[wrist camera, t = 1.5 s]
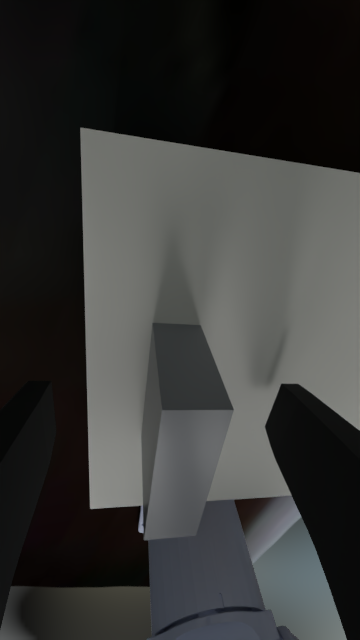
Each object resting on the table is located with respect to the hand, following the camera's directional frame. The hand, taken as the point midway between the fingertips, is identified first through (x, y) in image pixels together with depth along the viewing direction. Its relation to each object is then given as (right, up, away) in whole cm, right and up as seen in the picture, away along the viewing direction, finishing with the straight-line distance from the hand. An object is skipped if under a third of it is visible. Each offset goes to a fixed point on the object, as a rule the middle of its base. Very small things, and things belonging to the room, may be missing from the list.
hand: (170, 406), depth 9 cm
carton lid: (+4, +1, +2) cm, 5 cm away
